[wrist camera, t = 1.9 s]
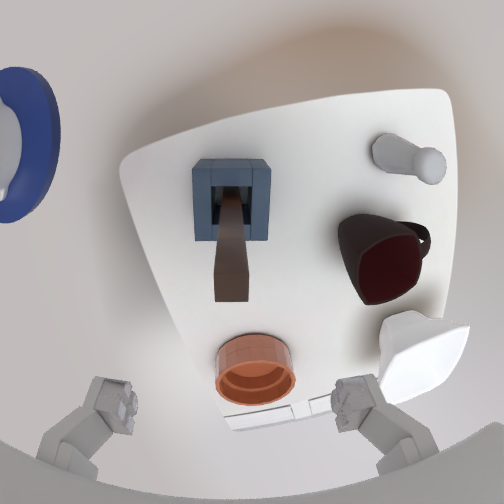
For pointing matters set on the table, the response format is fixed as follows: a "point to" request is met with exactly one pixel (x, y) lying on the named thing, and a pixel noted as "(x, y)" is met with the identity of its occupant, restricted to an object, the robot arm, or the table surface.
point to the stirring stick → (231, 251)
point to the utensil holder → (231, 174)
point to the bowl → (417, 354)
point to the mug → (382, 255)
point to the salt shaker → (408, 159)
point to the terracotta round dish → (254, 370)
